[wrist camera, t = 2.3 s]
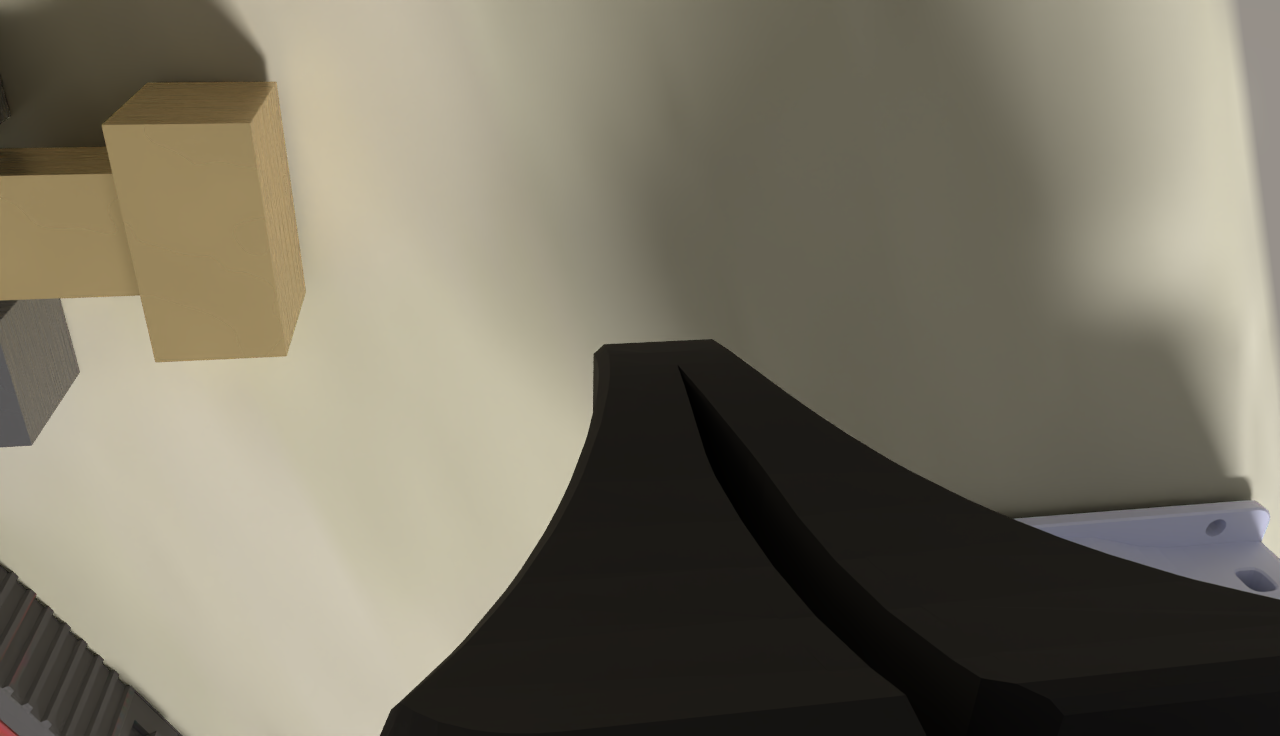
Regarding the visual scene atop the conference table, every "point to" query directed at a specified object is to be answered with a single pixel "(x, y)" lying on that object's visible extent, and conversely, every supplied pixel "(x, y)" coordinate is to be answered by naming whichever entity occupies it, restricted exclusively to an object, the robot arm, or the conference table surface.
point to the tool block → (31, 360)
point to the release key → (166, 220)
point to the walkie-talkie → (60, 678)
